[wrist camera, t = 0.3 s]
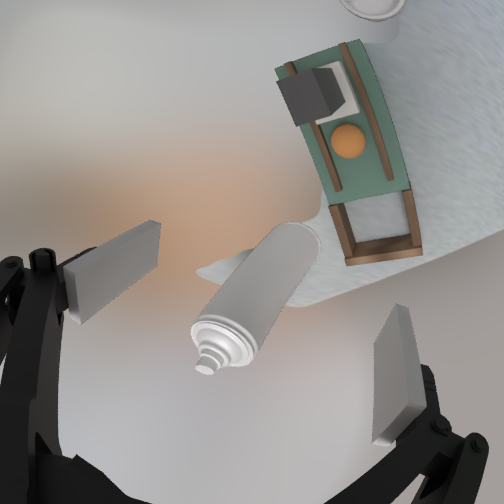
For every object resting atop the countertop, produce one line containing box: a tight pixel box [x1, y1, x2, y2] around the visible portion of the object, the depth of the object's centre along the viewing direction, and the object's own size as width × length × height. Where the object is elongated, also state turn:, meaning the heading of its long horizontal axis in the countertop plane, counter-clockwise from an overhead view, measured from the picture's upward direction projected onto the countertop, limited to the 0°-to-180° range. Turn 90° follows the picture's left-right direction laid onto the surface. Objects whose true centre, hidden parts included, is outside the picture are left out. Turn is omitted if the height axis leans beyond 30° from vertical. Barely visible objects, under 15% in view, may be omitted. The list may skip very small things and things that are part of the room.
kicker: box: [276, 61, 361, 126], centre depth 26 cm, size 5×6×13 cm
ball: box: [331, 124, 366, 159], centre depth 32 cm, size 4×4×4 cm
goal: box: [329, 181, 423, 266], centre depth 40 cm, size 11×9×4 cm
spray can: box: [191, 222, 321, 375], centre depth 41 cm, size 12×11×25 cm
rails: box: [284, 42, 394, 192], centre depth 32 cm, size 8×17×1 cm, turn 26°
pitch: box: [275, 39, 410, 205], centre depth 34 cm, size 11×19×3 cm, turn 26°
